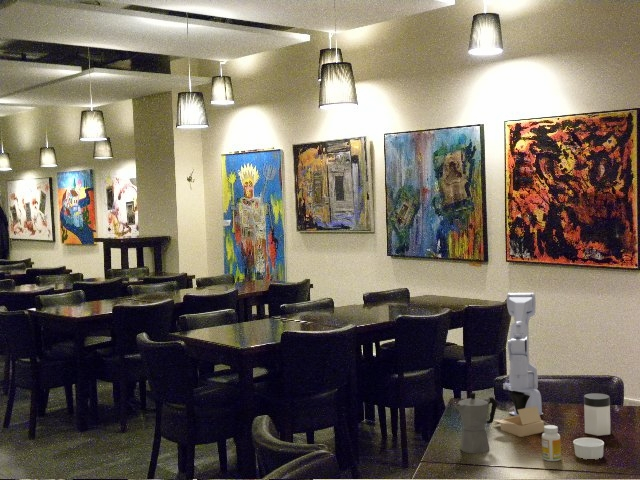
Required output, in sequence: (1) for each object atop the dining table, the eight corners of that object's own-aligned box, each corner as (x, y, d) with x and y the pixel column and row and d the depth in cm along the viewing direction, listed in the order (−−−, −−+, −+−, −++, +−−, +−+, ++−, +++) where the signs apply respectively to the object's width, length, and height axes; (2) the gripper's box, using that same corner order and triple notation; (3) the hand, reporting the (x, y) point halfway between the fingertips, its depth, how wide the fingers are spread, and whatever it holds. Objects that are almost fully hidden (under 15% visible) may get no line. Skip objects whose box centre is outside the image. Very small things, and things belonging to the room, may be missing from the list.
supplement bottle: (561, 456, 243) (560, 424, 242) (560, 462, 238) (559, 429, 237) (542, 455, 245) (542, 423, 244) (541, 461, 239) (540, 428, 239)
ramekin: (600, 462, 236) (600, 447, 236) (570, 458, 241) (569, 444, 241) (607, 453, 244) (607, 439, 244) (577, 450, 249) (577, 436, 248)
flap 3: (540, 420, 268) (536, 406, 270) (541, 420, 268) (536, 406, 269) (522, 424, 264) (517, 409, 266) (522, 424, 264) (517, 409, 266)
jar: (616, 432, 265) (616, 396, 264) (603, 437, 260) (602, 400, 259) (592, 426, 272) (591, 391, 271) (578, 432, 267) (577, 396, 266)
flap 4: (524, 415, 277) (533, 421, 279) (543, 421, 269) (552, 427, 271) (524, 414, 277) (534, 421, 279) (543, 420, 269) (553, 427, 271)
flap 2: (504, 420, 270) (492, 419, 268) (514, 423, 266) (503, 423, 264) (504, 421, 270) (492, 420, 268) (514, 424, 266) (503, 424, 264)
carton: (523, 425, 277) (523, 415, 277) (544, 431, 268) (543, 421, 268) (500, 429, 273) (500, 419, 273) (520, 437, 264) (520, 426, 264)
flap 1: (522, 415, 277) (514, 420, 281) (522, 414, 277) (514, 420, 281) (501, 419, 273) (493, 425, 277) (500, 418, 273) (493, 424, 277)
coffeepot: (465, 456, 246) (463, 398, 245) (448, 448, 255) (446, 392, 254) (507, 448, 252) (505, 392, 252) (489, 441, 261) (487, 386, 260)
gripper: (495, 371, 275) (496, 411, 276) (524, 379, 262) (525, 420, 263) (511, 369, 278) (513, 408, 279) (541, 376, 265) (542, 417, 266)
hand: (520, 414), depth 271 cm, fingers closed
